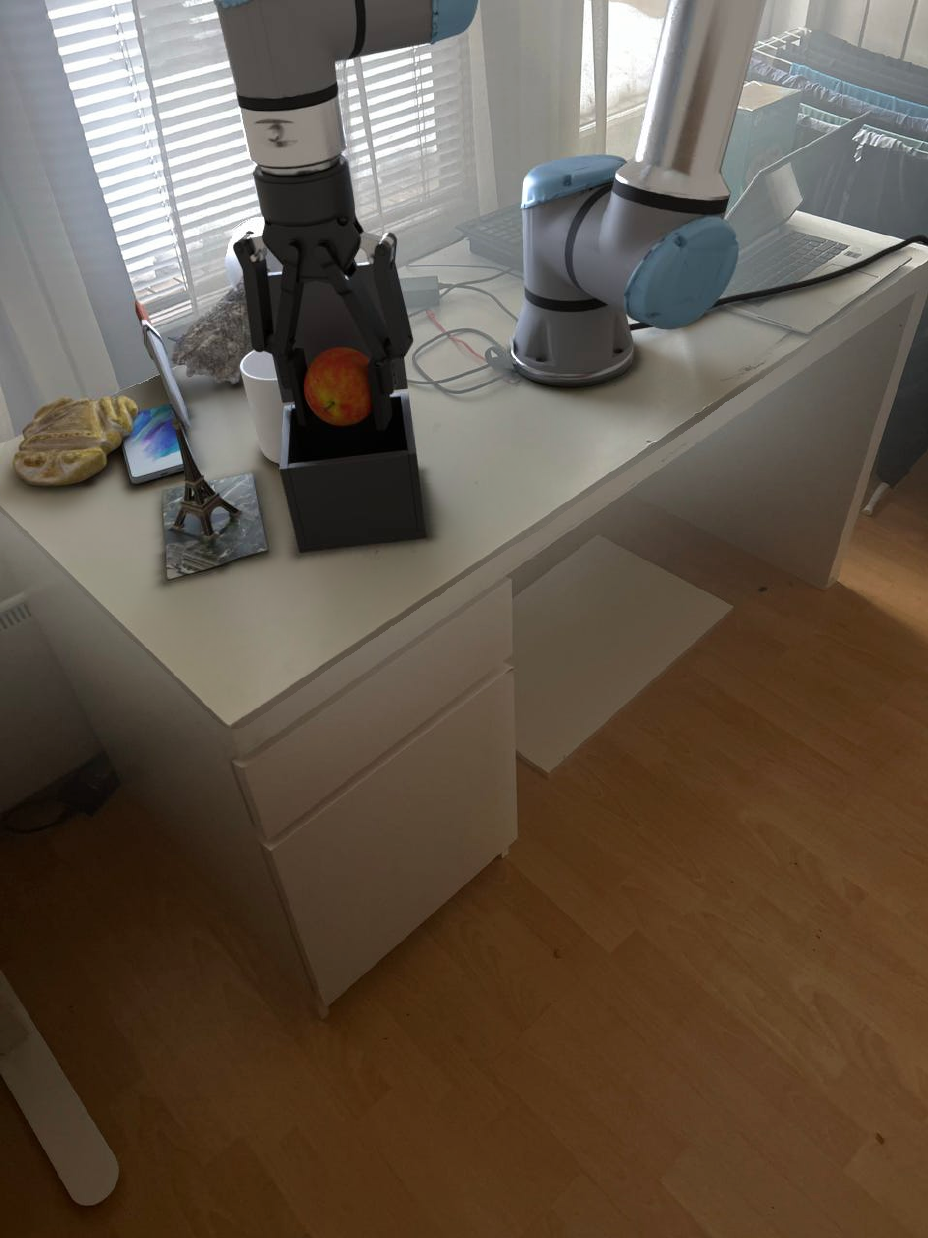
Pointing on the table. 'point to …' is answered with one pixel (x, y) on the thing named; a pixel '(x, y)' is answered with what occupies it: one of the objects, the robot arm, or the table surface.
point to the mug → (264, 401)
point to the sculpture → (72, 439)
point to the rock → (218, 339)
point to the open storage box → (352, 480)
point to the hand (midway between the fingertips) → (345, 419)
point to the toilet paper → (231, 260)
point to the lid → (328, 322)
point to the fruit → (339, 386)
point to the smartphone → (153, 445)
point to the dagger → (161, 362)
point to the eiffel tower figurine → (209, 518)
